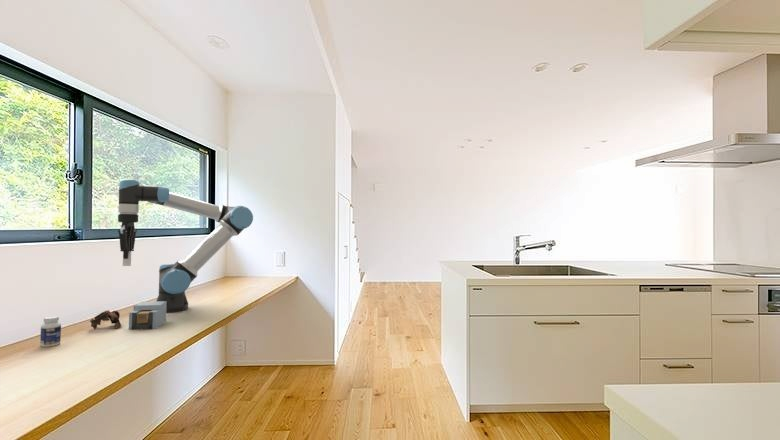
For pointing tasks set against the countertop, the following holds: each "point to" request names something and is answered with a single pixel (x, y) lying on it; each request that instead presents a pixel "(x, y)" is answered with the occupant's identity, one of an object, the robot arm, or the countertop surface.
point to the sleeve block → (155, 315)
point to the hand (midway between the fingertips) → (126, 265)
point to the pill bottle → (50, 332)
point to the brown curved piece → (106, 318)
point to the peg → (143, 316)
